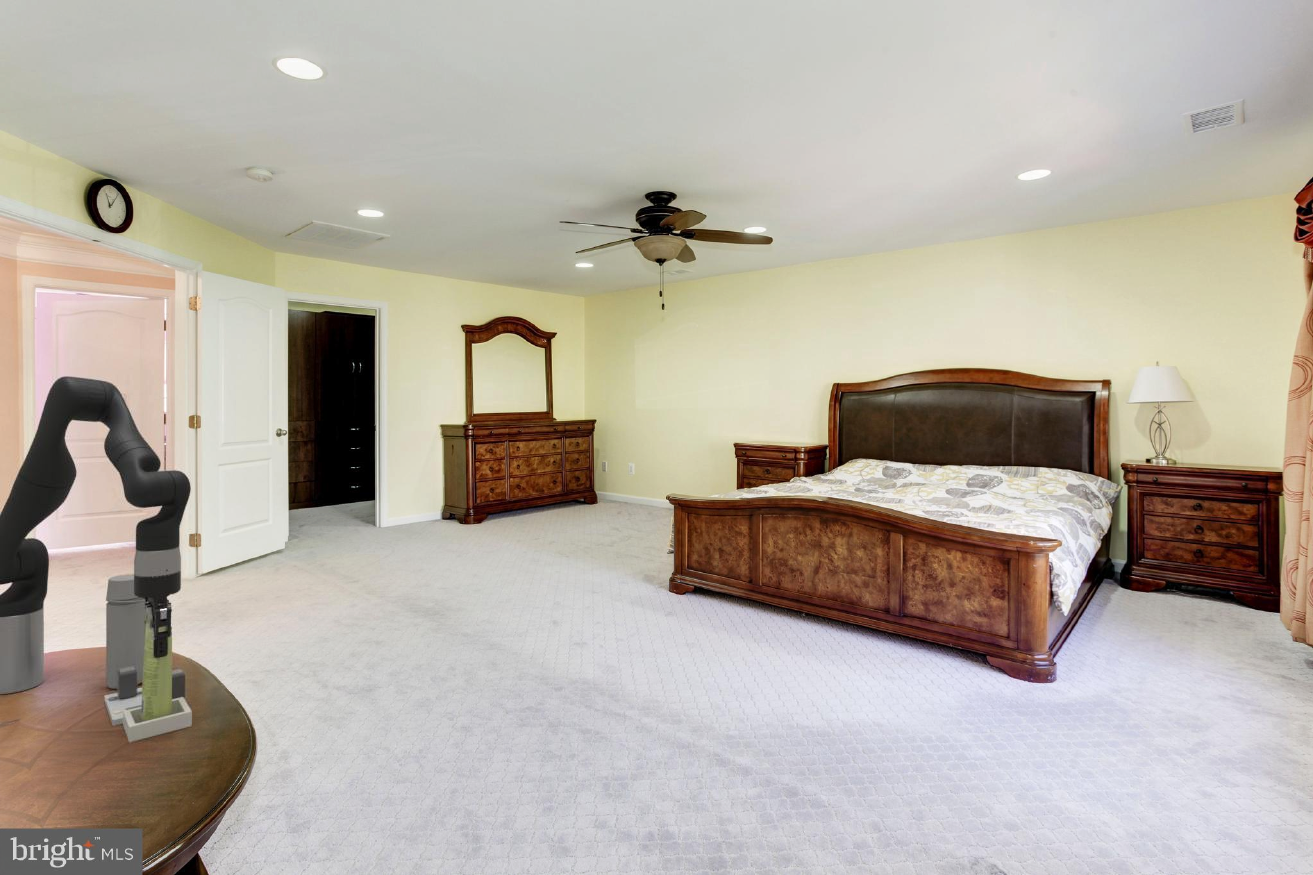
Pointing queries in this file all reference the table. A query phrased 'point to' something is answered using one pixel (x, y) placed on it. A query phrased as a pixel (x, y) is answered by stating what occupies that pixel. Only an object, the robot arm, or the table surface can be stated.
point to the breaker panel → (121, 705)
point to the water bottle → (124, 629)
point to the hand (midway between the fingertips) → (157, 651)
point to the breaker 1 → (126, 682)
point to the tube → (156, 680)
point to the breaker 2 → (178, 684)
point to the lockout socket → (157, 721)
